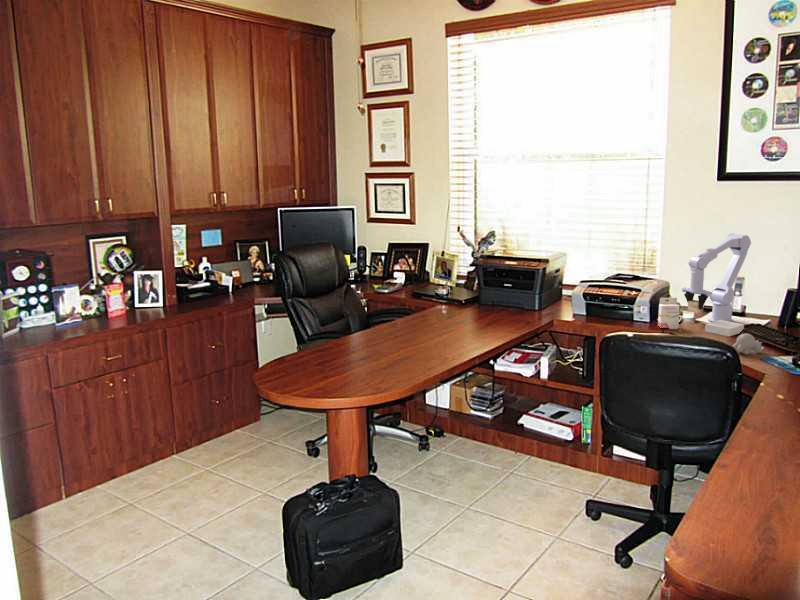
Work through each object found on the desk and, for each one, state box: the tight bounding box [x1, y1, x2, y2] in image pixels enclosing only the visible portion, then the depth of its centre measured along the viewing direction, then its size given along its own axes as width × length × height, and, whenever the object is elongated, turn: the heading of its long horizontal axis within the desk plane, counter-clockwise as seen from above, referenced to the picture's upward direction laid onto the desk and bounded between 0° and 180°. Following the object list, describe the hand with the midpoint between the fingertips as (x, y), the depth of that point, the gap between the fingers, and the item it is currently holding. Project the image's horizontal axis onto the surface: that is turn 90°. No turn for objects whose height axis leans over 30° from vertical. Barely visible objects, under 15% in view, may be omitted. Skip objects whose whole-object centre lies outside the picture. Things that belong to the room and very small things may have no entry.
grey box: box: [704, 320, 745, 337], centre depth 315 cm, size 12×12×4 cm
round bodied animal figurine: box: [732, 332, 764, 356], centre depth 281 cm, size 7×12×8 cm, turn 90°
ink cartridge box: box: [657, 297, 680, 330], centre depth 324 cm, size 9×5×15 cm, turn 84°
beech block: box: [687, 299, 704, 314], centre depth 327 cm, size 5×5×5 cm
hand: (695, 308), depth 327 cm, fingers closed on beech block, 5 cm apart
